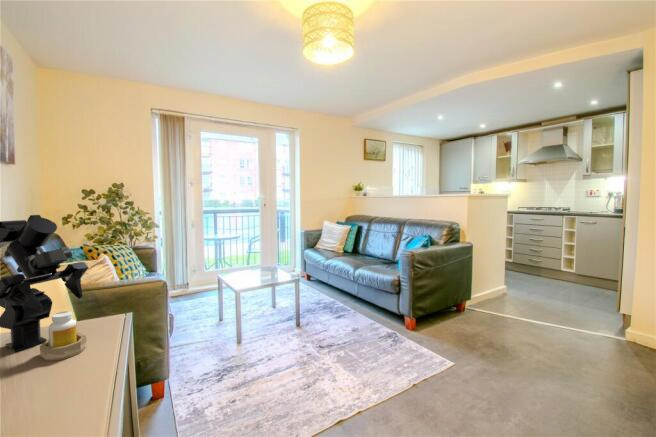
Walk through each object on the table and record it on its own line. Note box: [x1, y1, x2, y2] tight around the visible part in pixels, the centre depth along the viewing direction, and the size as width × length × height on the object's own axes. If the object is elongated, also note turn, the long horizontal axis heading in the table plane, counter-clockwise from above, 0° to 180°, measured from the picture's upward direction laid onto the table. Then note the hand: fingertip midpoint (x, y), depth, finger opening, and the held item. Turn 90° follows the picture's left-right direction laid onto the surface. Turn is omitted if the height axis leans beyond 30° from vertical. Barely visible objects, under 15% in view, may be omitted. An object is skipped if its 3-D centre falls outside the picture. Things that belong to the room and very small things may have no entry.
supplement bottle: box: [48, 311, 77, 348], centre depth 78 cm, size 5×5×10 cm
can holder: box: [39, 332, 87, 362], centre depth 78 cm, size 8×8×3 cm
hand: (62, 303), depth 77 cm, fingers open, 9 cm apart
